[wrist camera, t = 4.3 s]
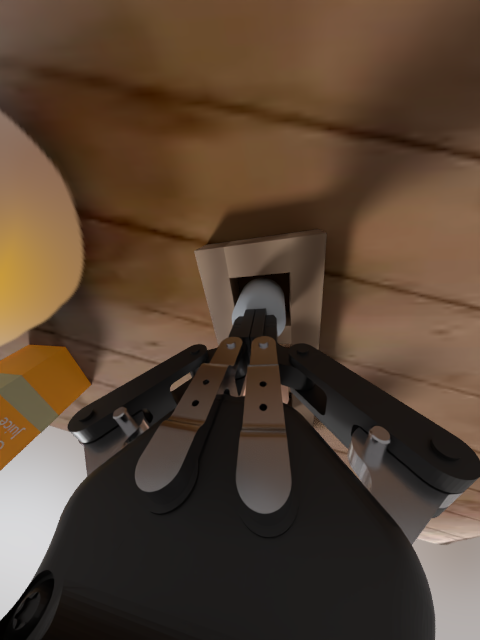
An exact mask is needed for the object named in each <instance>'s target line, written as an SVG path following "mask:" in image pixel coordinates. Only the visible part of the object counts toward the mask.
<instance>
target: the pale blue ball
mask: <svg viewBox="0 0 480 640" xmlns="http://www.w3.org/2000/svg"><path fill="white" fill-rule="evenodd" d="M263 308H266V310H267V315H274V316H275V317H276V318H277V333H278V336H279V335H280V334H281V333H282V332H283V330H284V328H285V324H286V314H285V299H284V292H283V290H282V288H281V287H280V285H279V284H278V283H276V282H275V281H273V280H271V279H268V278H256V279H253V280H251V281H250V282H248V283H247V284H246V285H245V286H244V288H243V290H242V292H241V294H240V296H239V299H238V301H237V303H236V305H235V308H234V310H233V313H232V324H233V323H234V321H235V319H237V318H238V317H239V316H244V313H245V310H246V309H263Z"/></svg>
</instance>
